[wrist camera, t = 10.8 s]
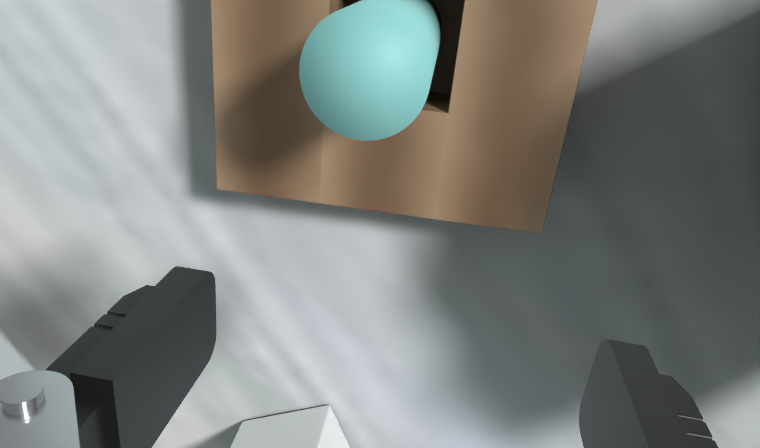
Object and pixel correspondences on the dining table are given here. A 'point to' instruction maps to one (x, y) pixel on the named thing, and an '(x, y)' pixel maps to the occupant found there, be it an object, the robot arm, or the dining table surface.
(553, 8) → the bore block
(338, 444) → the milk carton
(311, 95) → the dowel
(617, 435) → the robot arm
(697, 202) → the dining table surface
